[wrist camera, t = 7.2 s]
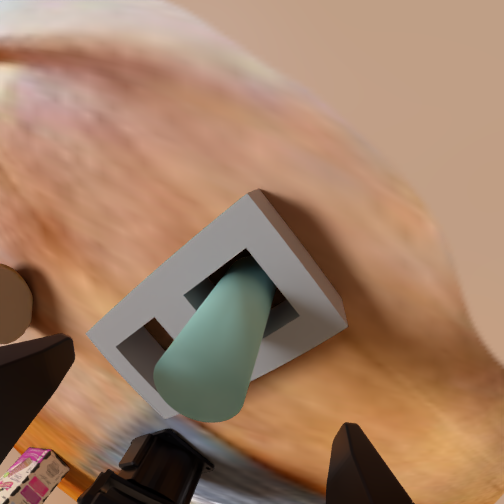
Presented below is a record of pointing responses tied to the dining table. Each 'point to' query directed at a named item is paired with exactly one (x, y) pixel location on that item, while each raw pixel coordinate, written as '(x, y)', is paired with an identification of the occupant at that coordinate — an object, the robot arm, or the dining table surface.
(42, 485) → the candy bar box
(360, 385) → the dining table surface
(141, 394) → the block
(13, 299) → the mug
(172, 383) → the peg
